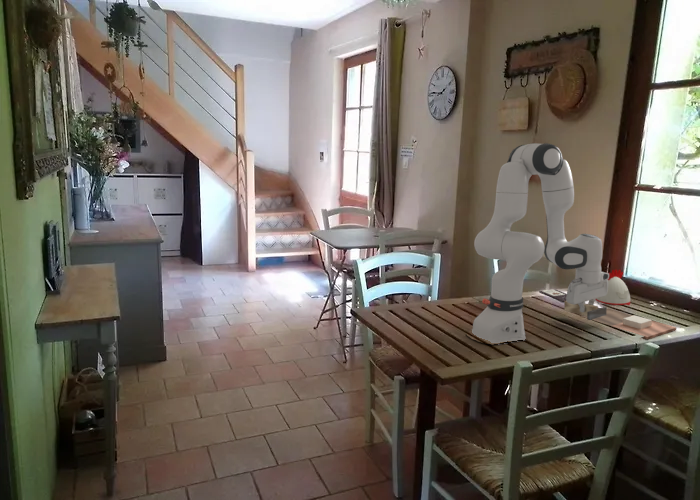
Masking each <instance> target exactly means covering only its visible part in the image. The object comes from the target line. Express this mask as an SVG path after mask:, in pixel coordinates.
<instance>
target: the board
mask: <svg viewBox="0 0 700 500" xmlns="http://www.w3.org/2000/svg"><path fill="white" fill-rule="evenodd" d="M630 316H634V315H632V314H629V313H626V312H623V311H618V310H616V309H615V310H614V309H611V308H606V315H604V316H601V317H598V318H595V319H592V320H591V321H595V322H598V323H600V324H604V325H606V326H611V327H613V328H617V329H621V330H624V331H627V332H630V333H632V334H633V333H634V334H636V335H640V336H642V337H640V338H642V339H644V340H650V339H653V338H657V337H659V336H662V335H666V334H669V333H672V332H674V331H677V326H674V325H673V326H672V325H668V324H666V323H662V322H658V321H655V320H652V326H649V327H646V328H643V329H638V328H635V327H631V326H628V325H625V324H623V318H627V317H630ZM580 317H581V318H585V319H587V316H585V315H580Z"/></svg>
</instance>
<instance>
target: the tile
mask: <svg viewBox="0 0 700 500" xmlns="http://www.w3.org/2000/svg"><path fill="white" fill-rule="evenodd" d="M652 321H653V319H650V318H646V317H642V316H639V315H633V316H630V317H627V318H623V324H625V325H628V326H631V327H635V328H638V329H643V328H646V327H649V326H652Z"/></svg>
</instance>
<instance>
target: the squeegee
mask: <svg viewBox="0 0 700 500" xmlns="http://www.w3.org/2000/svg"><path fill="white" fill-rule="evenodd" d="M584 306H585V307H586V312H580V307H579V305H578V304H575V305H574V304H570V303H568V302H567V301H564V312H567V313H573V314H576V315H580V316H582V315H585V316H587V318H586V319H587V321H593V320H592V319H595V318H598V317H601V316H604V315H606V309H607V307H606V306H602V307H599V306H598V305H595V304H594V305H590V304H588V303H585V304H584Z"/></svg>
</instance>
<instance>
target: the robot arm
mask: <svg viewBox="0 0 700 500" xmlns="http://www.w3.org/2000/svg"><path fill="white" fill-rule="evenodd" d="M499 169H500V170H499V172H498V177H497V181H496V190H495V192H496V193H495V202H494V203H495V204H494V209H493V214H492V217H491V219H490V221H489V223H488V224H487V225H486V227H484V228H483V229H482V230H480V231H479V232H478V233H477V234H476V236H475V237H474V241H473V242H474V250H475V251H476V254H478V255H479V256H480V257H484V258H487V259H489V260H490V259H492V260H499V261H505V262H506V266H505V267H504V268H503V269H500V270H498V271H495V273H494V274H493V275H492V276H491V293H490V294H491V295H490V297H489V299H488V298H483V299H482V301H481V302H482V304H483V305H484V304H485V305H487V306H486V308H484V310H482V311H481V313H479V314H478V315H477V316H476V317H475V318H474V320H473V323H472V329H471V330H472V333H473V334H474V335H476V336H477V337H479V338H482V339H485V340H488V341H490V342H491V343H500V342H507V341H517V340H523V341H526V340H527V338H526V331H525V326H524V315H523V308H524V297H523V287H524V281H525V277H526V274H527V271H528V270H529V269H530V267H532V266H533V265H534V264H535V263H538V262H539V261H540V260H541V259H542V257H543V256H544V257H545V259H546V260H548V262H550V263H551V264H554V265H555V266H557V267H558V268H560V269H561V270H562V269H563V270H574V269H575V277H574V279H572V280H571V281H570V283H569V285H568V287H567V291H566V294H567V297H566V301H567V302H568V303H570V304H574V305H575V304H578V305H579V307H580V312H586V307H585V306H584V304H586V302H588V303H587V304H590V305H595V303H596V298H599V297H603V296H606V294H607V292H608V280H607V279H609V272H604V271H602V265H601V263H602V260H603V242H602V238H600V236H597V235H595V234H590V233H581V234H579V235H578V236H577V237H576V238H573V239H571V240H569V241H568V240H567V239H566V236H565V222H564V221H565V219H564V218H565V214H566V212H568V211H569V210H570V209H571V208H572V207H573V205H574V204H575V203H574V202H575V187H574V185H575V184H574V180H573V174H572V171H571V167H570V164H569V163H568V161H567V160H566V159H564V158H563V154H562V151H561V150H560V148H559V147H557V146H556V145H555V144H551V143H547V142H545V143H535V142H534V143H533V142H532V143H528V144H521V145H518V146H516V147H515V148H513V149H512V150H511V152H510V154H509V156H508V159H507V162H506V163H504V164H502V166H501V167H500V168H499ZM532 175H535V176H536V175H538V177H539V179H540V182H541V183H540V184H541V185H540V186H541V195H542V201H543V206H544V210H545V218H546V232H547V238H546V242H545V243H544V240H543V239H542V237H541V236H540V235H537V234H535V233H534V234H532V233H529V232H526V231H525V232H523V231H513V230H511V228H512V225H513V224H514V223H516V222H517V221H520V220H521V219H524V217H525V216H526V214H527V211H528V210H527V209H528V198H529V197H528V196H529V181H530V179H531V177H532ZM525 339H526V340H525ZM517 342H518V341H517Z"/></svg>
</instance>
